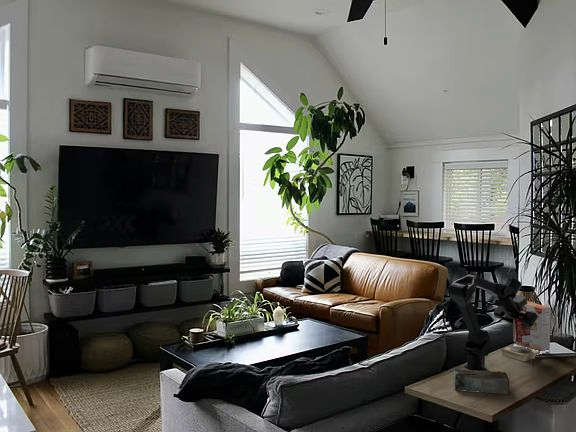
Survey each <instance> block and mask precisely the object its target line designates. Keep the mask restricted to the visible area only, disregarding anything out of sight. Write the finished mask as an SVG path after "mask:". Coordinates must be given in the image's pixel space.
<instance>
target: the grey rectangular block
mask: <svg viewBox="0 0 576 432" xmlns="http://www.w3.org/2000/svg"><path fill="white" fill-rule="evenodd" d="M453 386H454V390H455V391H456V390H466V391H465V392H468V391H479V392H478V393H481V392H486V393H485V394H498V395H509V394H510V378H509V376H508V374H507V373H506V371H489V370H482V371H474V370H470V369H460V368H459V369H458V368H453Z"/></svg>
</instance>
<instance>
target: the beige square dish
mask: <svg viewBox="0 0 576 432" xmlns="http://www.w3.org/2000/svg"><path fill="white" fill-rule="evenodd" d="M539 353H540V351H536V350H533V349H530V348H526V347H523V346H520V345H517V344H516V345H512V346H507V347H504V348H501V355H503V356H506V357H508V358H511V359H515V360H518V361H520V362H526V361H530V360H533V359H536V358H535V356H536V355H537V354H539Z"/></svg>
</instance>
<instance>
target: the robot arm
mask: <svg viewBox="0 0 576 432" xmlns="http://www.w3.org/2000/svg"><path fill="white" fill-rule="evenodd" d="M522 285H523V283H522V282H521V281H519V279H516V278H515V277H514V276H509V277H508V278H507V281H506V282H505V284H503V283H499V282H492V281H490V280H488V279H485V278H483V277H480V276H479V275H477V274H476V275H475V274H470V273H469V274H466V275H465V276H463V277H461V278H459V279H456V280H454V282H452V283H451V284H450V285H449V286H448V294H449V297H450V299H451V300H452V301H453V302H454V303H456V305H457V306H458V308H459V310H460V312H461V313H460V314H461V315H462V318H463V320H464V321H463V322H464V323H465V325H466V328H467V331H468V334H467V336H466V339H467V340H466V342H465V344H464V345H463V346H462V350H463V353H466V354H467V356H466V357H467V358H466V359H467V360H466V365H464V368H465V369H467V370H474V371H488V368H487V367H485V366H486V364H485V363H486V357H488V356H489V354H490V348H491V346H492V345H491V343H492V342H491V337H490V334H489V331H488V330H485V329H482V328H481V326H480V324H479V323H480V322H479V320H478V317H477V315H476V313H475V309H474V306H473V304H472V299H473V294H474V293H476V289H477V288H479V289H481V290H484V291H485V292H486V294H488V295H489V296H491V297H495V299H494V302H493V305H494V306H496V308H495V310H494V311H493V316H494V317H495V318H496V319H499V320H501V321H504V322H506V323H509V324H511V325H513V319H514V320H516V319H518V318H522V324H521V325H522V326H524V327H526V328H528V329H529V330H530V329H531V326H533V324H534V323H535V321H536V319H537V318H538V315H537V314H536V313H535V312H531V311H527V312H526V313H522V312H521V311H522V310H523V308H522V307H524V306H525V305H526V304H527V301H528V300H527V297H526V296H524V295H519V294H518V293H519V291H520V289H521V288H522ZM517 294H518V295H517Z"/></svg>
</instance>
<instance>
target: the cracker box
mask: <svg viewBox="0 0 576 432" xmlns="http://www.w3.org/2000/svg"><path fill="white" fill-rule="evenodd" d="M522 308H523V310H522V311H521V312H522V313H526V312H527V311H531V312H535V313H536V314H537V315H538V318H537V319H536V321H535V323H534V324H533V326H531V329H530V343H528V344H518V343H516V345H520V346H523V347H527V348H530V349H534V350H538V351H545V350H549V351H550V347H551V346H550V343H551V319H552V318H551V317H552V308H551V307H550V306H546V305H543V304H539V303H535V302H532V301H529V300H527V304H526V305H525V306H524V307H522Z"/></svg>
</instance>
